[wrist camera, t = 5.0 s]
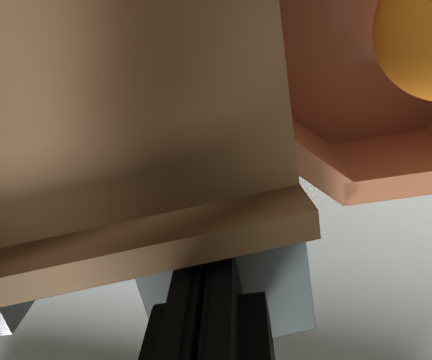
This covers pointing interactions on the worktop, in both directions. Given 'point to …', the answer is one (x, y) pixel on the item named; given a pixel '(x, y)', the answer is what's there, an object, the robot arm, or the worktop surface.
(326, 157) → the bowl
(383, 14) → the ball
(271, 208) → the lever
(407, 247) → the worktop surface
